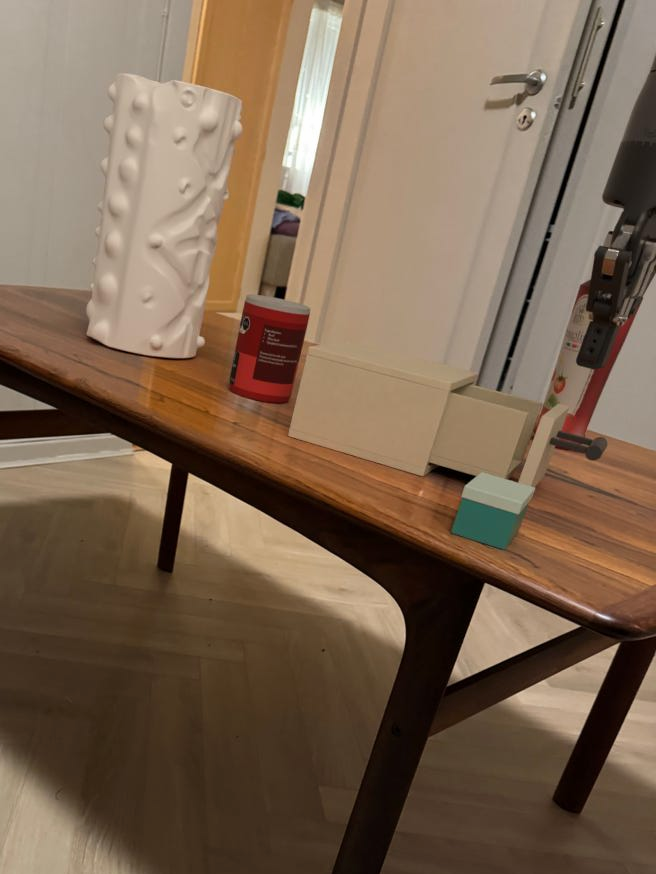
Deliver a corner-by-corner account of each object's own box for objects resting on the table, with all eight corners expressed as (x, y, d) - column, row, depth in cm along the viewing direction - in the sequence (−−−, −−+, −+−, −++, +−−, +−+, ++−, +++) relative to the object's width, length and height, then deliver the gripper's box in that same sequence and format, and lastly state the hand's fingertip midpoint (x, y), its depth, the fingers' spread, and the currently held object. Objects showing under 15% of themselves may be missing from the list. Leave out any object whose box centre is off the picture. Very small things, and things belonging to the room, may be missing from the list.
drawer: (590, 489, 93) (618, 418, 89) (578, 511, 83) (608, 433, 80) (420, 440, 99) (440, 373, 96) (390, 456, 90) (412, 382, 87)
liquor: (514, 434, 118) (596, 199, 106) (553, 437, 121) (637, 210, 109) (556, 451, 112) (647, 205, 100) (596, 454, 116) (689, 216, 103)
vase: (148, 362, 117) (193, 78, 103) (58, 333, 125) (88, 65, 111) (221, 359, 130) (270, 106, 116) (135, 333, 138) (171, 92, 124)
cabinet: (452, 457, 99) (479, 373, 95) (422, 476, 88) (451, 383, 84) (328, 421, 104) (349, 340, 100) (287, 436, 94) (308, 346, 90)
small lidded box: (519, 532, 77) (536, 487, 75) (505, 550, 71) (523, 502, 69) (466, 516, 78) (481, 471, 77) (448, 532, 73) (464, 485, 71)
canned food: (247, 384, 116) (265, 294, 111) (301, 401, 112) (323, 309, 107) (215, 388, 110) (233, 293, 105) (271, 406, 106) (292, 308, 101)
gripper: (708, 138, 65) (614, 381, 72) (734, 164, 75) (648, 375, 82) (603, 126, 68) (523, 358, 76) (640, 152, 78) (567, 355, 86)
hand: (589, 367), depth 79 cm, fingers closed
